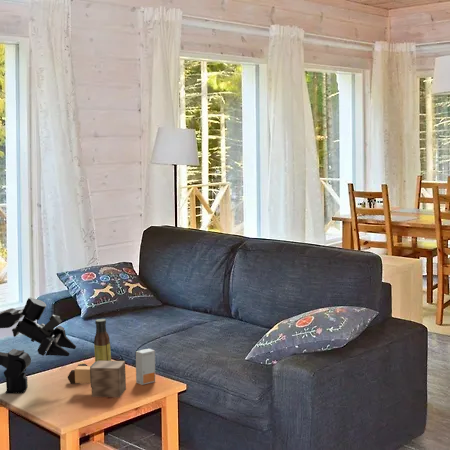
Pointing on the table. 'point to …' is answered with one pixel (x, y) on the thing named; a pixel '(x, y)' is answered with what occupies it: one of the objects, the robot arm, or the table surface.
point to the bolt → (73, 375)
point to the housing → (108, 378)
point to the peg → (82, 374)
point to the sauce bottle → (102, 342)
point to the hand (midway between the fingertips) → (72, 351)
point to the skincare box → (145, 366)
